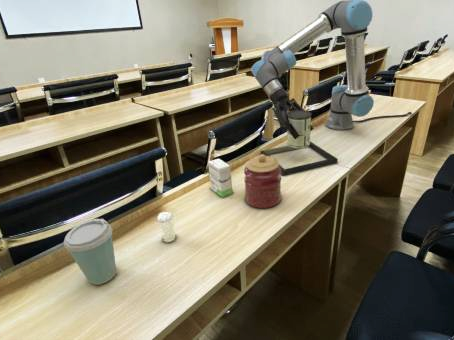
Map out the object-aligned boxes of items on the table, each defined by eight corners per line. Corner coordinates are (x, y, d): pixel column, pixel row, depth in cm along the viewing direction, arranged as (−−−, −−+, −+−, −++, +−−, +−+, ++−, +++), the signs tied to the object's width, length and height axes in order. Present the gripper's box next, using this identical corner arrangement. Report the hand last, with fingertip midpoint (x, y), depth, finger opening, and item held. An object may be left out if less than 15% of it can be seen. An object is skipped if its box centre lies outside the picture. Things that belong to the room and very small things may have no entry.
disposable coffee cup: (83, 298, 74) (63, 251, 67) (76, 271, 82) (58, 226, 75) (129, 278, 80) (114, 232, 73) (118, 254, 87) (105, 211, 81)
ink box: (233, 193, 116) (231, 165, 110) (221, 197, 113) (219, 169, 107) (221, 184, 122) (218, 157, 116) (210, 188, 119) (207, 161, 113)
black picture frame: (309, 144, 155) (309, 141, 154) (337, 162, 136) (337, 158, 136) (260, 154, 146) (260, 150, 145) (282, 175, 127) (282, 171, 126)
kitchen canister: (237, 199, 112) (234, 155, 104) (263, 186, 120) (262, 144, 112) (263, 213, 104) (262, 167, 95) (288, 198, 112) (289, 154, 103)
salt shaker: (156, 240, 93) (150, 212, 88) (172, 232, 96) (167, 205, 91) (163, 247, 90) (157, 219, 85) (180, 238, 93) (175, 211, 88)
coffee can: (287, 139, 143) (287, 109, 136) (309, 139, 142) (310, 109, 135) (286, 148, 134) (286, 117, 127) (310, 148, 133) (311, 117, 126)
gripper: (286, 92, 146) (313, 131, 144) (254, 103, 131) (283, 146, 129) (296, 82, 140) (323, 122, 138) (263, 92, 125) (294, 137, 123)
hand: (304, 134), depth 134 cm, fingers closed on coffee can, 10 cm apart
